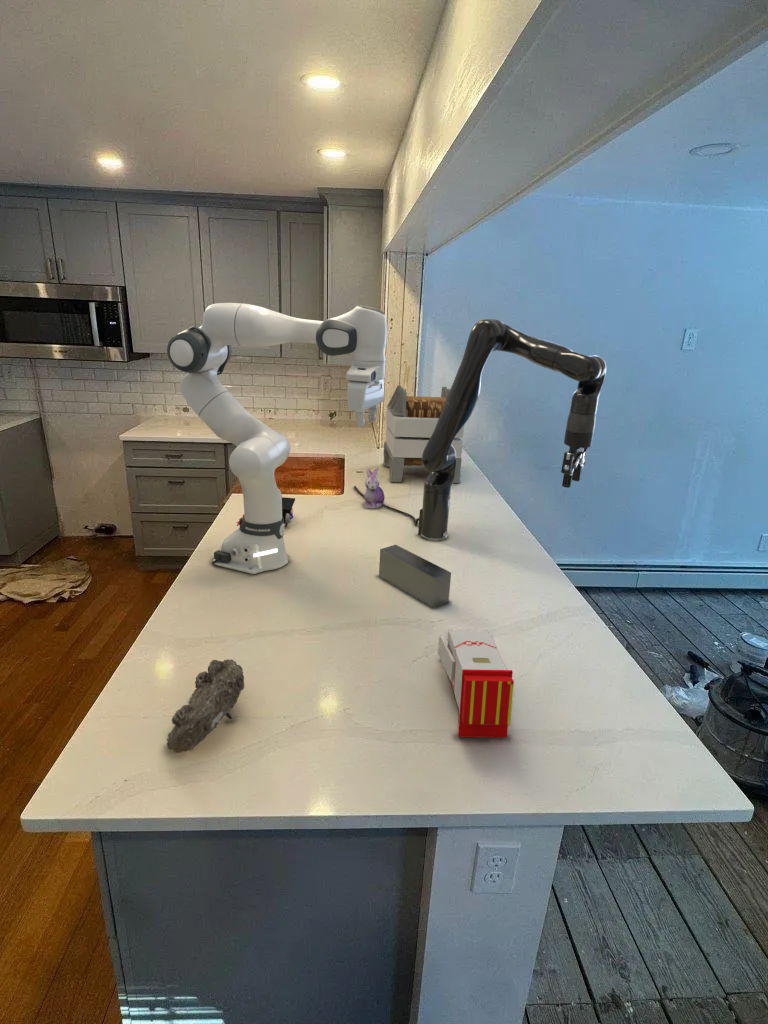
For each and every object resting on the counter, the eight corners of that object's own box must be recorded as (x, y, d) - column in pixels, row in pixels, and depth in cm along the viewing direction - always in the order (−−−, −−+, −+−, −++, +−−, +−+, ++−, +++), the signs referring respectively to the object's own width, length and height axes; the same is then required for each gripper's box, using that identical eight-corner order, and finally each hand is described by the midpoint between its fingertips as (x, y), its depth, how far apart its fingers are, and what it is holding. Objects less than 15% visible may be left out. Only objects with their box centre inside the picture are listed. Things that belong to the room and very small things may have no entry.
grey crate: (382, 463, 289) (386, 382, 275) (445, 464, 293) (451, 384, 279) (390, 482, 257) (394, 392, 243) (460, 483, 261) (468, 394, 247)
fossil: (192, 660, 117) (244, 628, 112) (224, 691, 120) (276, 661, 115) (142, 746, 98) (202, 712, 93) (182, 779, 101) (242, 748, 96)
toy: (488, 613, 130) (523, 677, 101) (484, 667, 133) (517, 744, 104) (435, 612, 130) (455, 676, 101) (432, 666, 133) (451, 743, 103)
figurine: (368, 510, 221) (370, 473, 216) (357, 502, 229) (358, 466, 224) (390, 507, 225) (391, 471, 220) (378, 500, 233) (379, 464, 228)
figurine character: (291, 533, 199) (296, 514, 213) (290, 514, 196) (295, 495, 209) (271, 532, 199) (278, 513, 213) (270, 513, 196) (277, 495, 209)
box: (448, 601, 155) (451, 572, 152) (432, 608, 151) (435, 578, 148) (394, 571, 171) (395, 544, 168) (378, 576, 168) (380, 549, 165)
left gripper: (369, 367, 159) (367, 416, 164) (343, 374, 141) (342, 429, 145) (390, 369, 158) (388, 418, 162) (367, 376, 139) (365, 431, 144)
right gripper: (574, 423, 167) (566, 476, 173) (558, 430, 156) (549, 486, 162) (600, 427, 163) (591, 481, 169) (585, 434, 152) (575, 492, 158)
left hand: (366, 423), depth 154 cm, fingers open, 8 cm apart
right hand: (570, 483), depth 165 cm, fingers open, 8 cm apart
